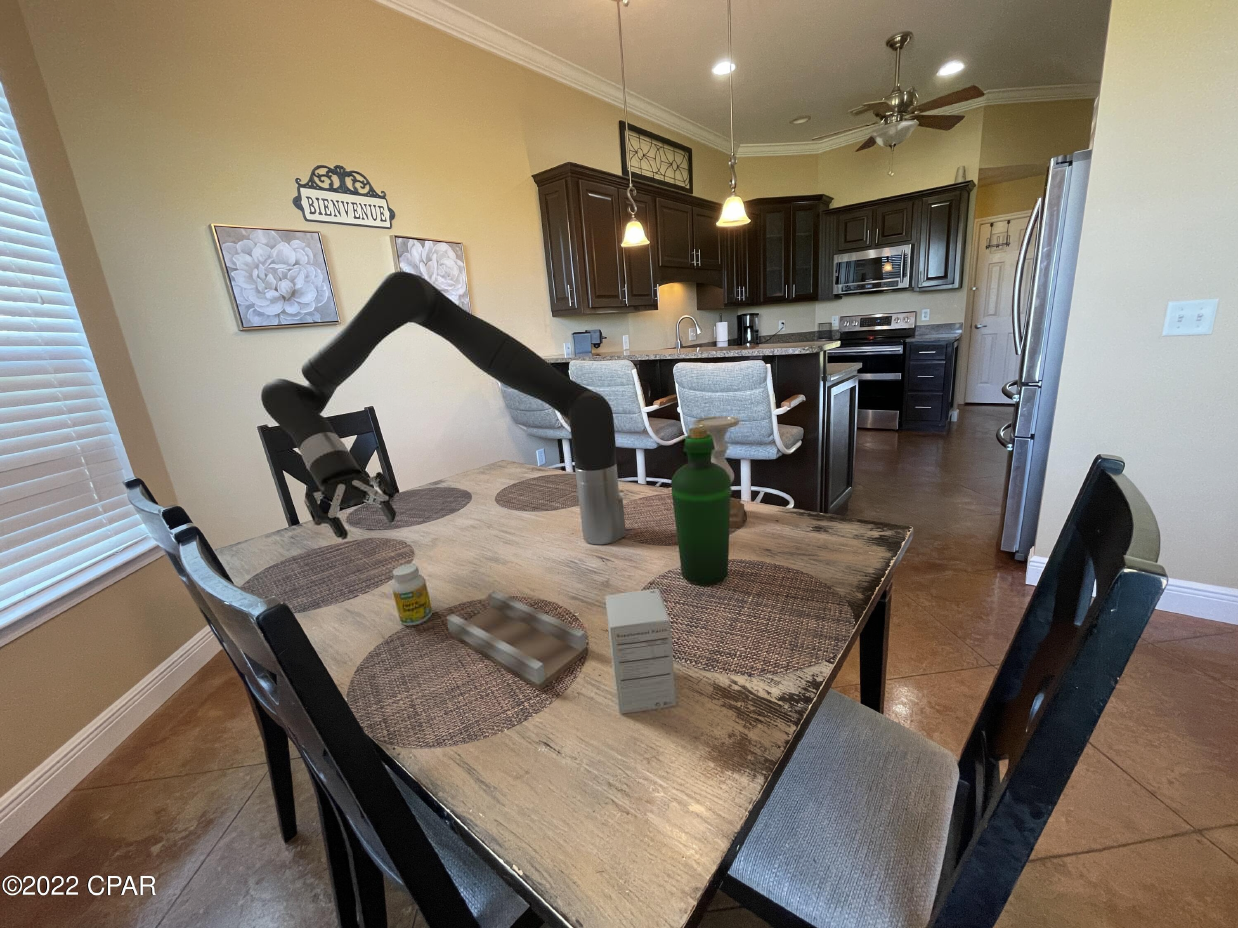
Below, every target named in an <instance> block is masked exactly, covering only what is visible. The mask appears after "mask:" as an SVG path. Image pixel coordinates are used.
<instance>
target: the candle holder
mask: <svg viewBox="0 0 1238 928" xmlns="http://www.w3.org/2000/svg"><path fill="white" fill-rule="evenodd" d="M739 419H740V418H737V417H733V416H709V417H703V418H698V419H695V421H693V426H694V428H695V427H706V428H708V431H707V434H710V435H712V438H713V442H714V446H715V450H713V451H712V455H711V462H713V463H715V464H717V465H719V466H720V467H722V468H724V469H725V471H726V472H727V473H728V475H729V476H730V479H731V484H733V481H734V479H735V473H734V471H733V469H732V467H731V466H730V464H729V463H728V461H727V460H726V453H727V452H728V450H729V447H730V446H729V445H728V444H727V442H726V440H725V439H726V438H725V437H726V435H727V433H728V432H729V429H730V428H734V427H737V426H738V425H739V424H740V420H739ZM732 493H733V489H732V488H731V493H730V523H729V529H740V528H741V527H743V521H744V517H745V503H742V502H741V501H742V500H741V499H740V498H733V497H731V495H732Z"/></svg>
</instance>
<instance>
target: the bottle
mask: <svg viewBox="0 0 1238 928" xmlns="http://www.w3.org/2000/svg"><path fill="white" fill-rule="evenodd" d="M707 431H708V428H706V427H695V426H694V427H691V428H689V429H688V432H689V434H688V435H686V436H685V440H684V447H683V452H685V453H686V455H687V462H688V463H685V464H684V465H682V466H680V467H679V468H678V469H677V470H676V471H675V473H674V474H673V476H672V477H671V480H670V481H671V482H670V487H671V488H670V489H671V496H672V503H673V512H674V521H675V530H676V535H677V544H678V553H679V560H680V561H679V563H680V569H681V570H680V571H681V572H680V573H681V576H682V578H683V579H685V580H686V581H687V582H689V583H692V584H695V585H701V586H711V585H715V584H718V583H723V581H724V580H725V579H726V578H727V577H728V576H729V553H730V552H729V549H730V528H729V523H730V497H731V495H730V493H731V489H732V487H731V486H732V483H731V479H730V476H729V475H728V473H727V472H726V471H725V469H724V468H722V467H720V466H719V465H717V464H715V463H713V462H711V455H712V451H713V450H715V446H714V442H713V438H712V435H710V434H707Z"/></svg>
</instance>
